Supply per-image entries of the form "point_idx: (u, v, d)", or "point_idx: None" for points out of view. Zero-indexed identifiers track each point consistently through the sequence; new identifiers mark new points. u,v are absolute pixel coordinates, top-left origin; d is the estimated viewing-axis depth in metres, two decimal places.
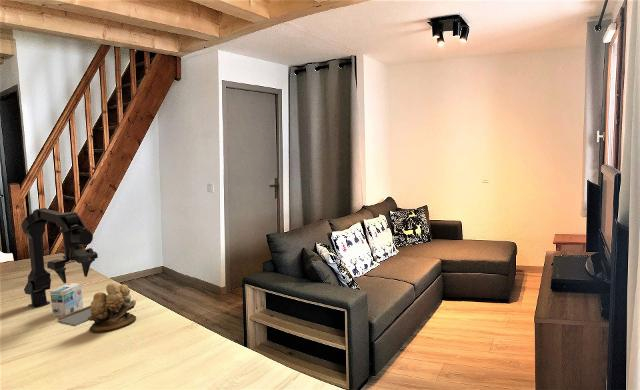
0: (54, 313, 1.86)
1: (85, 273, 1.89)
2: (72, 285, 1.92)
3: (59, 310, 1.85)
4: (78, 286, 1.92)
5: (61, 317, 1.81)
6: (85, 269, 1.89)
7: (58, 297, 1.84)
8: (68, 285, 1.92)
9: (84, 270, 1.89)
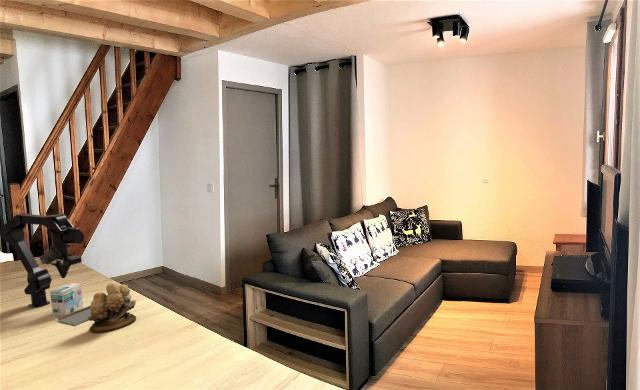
0: (54, 313, 1.86)
1: None
2: (72, 285, 1.92)
3: (59, 310, 1.85)
4: (78, 286, 1.92)
5: (61, 317, 1.81)
6: None
7: (58, 297, 1.84)
8: (68, 285, 1.92)
9: None
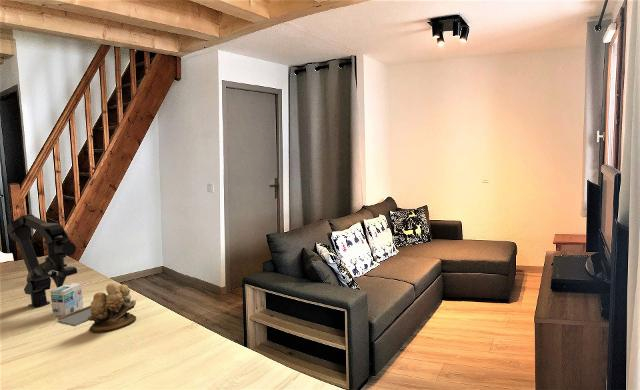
0: (54, 313, 1.86)
1: None
2: (72, 285, 1.92)
3: (59, 310, 1.85)
4: (78, 286, 1.92)
5: (61, 317, 1.81)
6: None
7: (58, 297, 1.84)
8: (68, 285, 1.92)
9: None
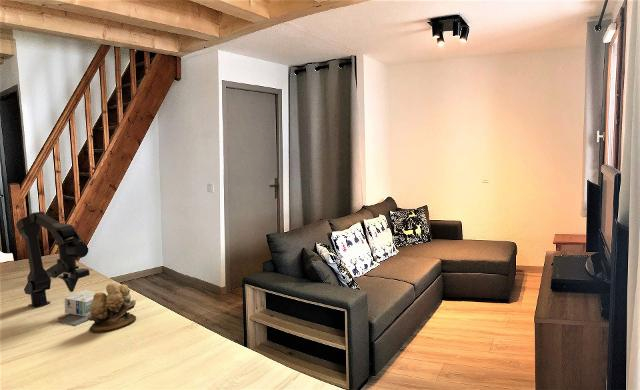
0: (66, 300, 1.84)
1: None
2: None
3: (69, 307, 1.84)
4: None
5: (61, 317, 1.81)
6: None
7: (80, 310, 1.82)
8: None
9: None
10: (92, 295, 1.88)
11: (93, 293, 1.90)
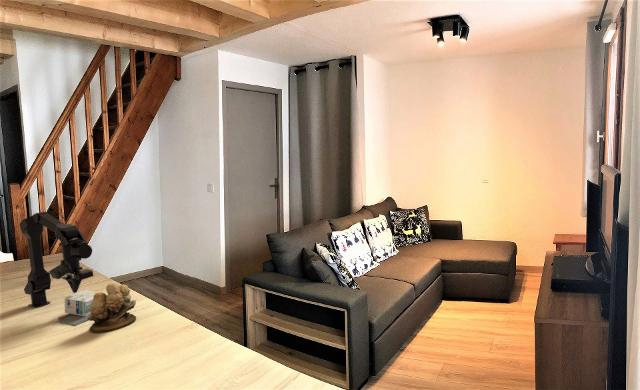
0: (66, 300, 1.84)
1: None
2: None
3: (69, 307, 1.84)
4: None
5: (61, 317, 1.81)
6: None
7: (80, 310, 1.82)
8: None
9: None
10: (92, 295, 1.88)
11: (93, 293, 1.90)
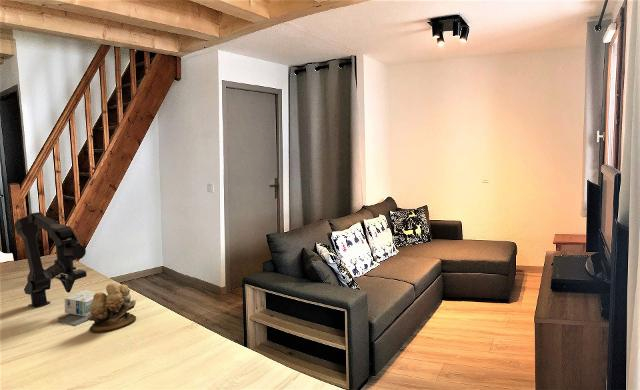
0: (66, 300, 1.84)
1: None
2: None
3: (69, 307, 1.84)
4: None
5: (61, 317, 1.81)
6: None
7: (80, 310, 1.82)
8: None
9: None
10: (92, 295, 1.88)
11: (93, 293, 1.90)
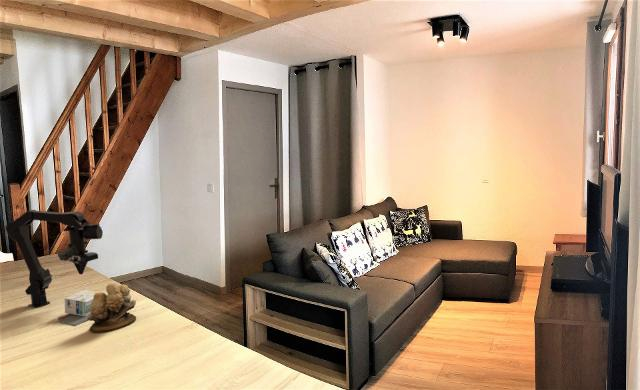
0: (66, 300, 1.84)
1: None
2: None
3: (69, 307, 1.84)
4: None
5: (61, 317, 1.81)
6: None
7: (80, 310, 1.82)
8: None
9: None
10: (92, 295, 1.88)
11: (93, 293, 1.90)
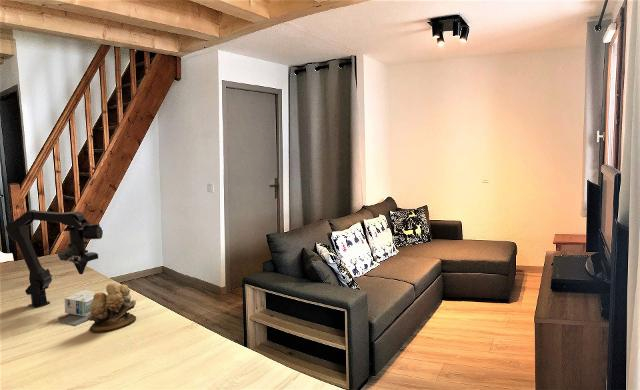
0: (66, 300, 1.84)
1: None
2: None
3: (69, 307, 1.84)
4: None
5: (61, 317, 1.81)
6: None
7: (80, 310, 1.82)
8: None
9: None
10: (92, 295, 1.88)
11: (93, 293, 1.90)
